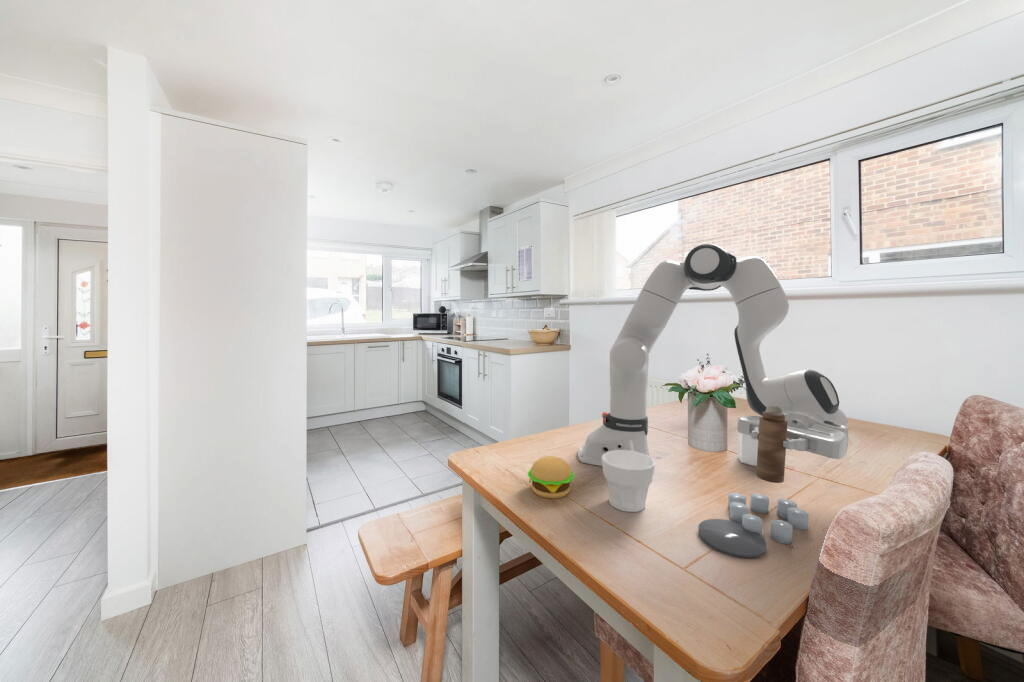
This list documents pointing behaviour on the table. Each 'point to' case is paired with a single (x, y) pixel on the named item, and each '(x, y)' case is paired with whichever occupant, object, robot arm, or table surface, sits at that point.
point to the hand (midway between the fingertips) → (770, 440)
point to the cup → (627, 478)
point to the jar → (747, 449)
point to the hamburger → (550, 477)
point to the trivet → (732, 538)
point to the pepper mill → (771, 445)
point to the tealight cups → (760, 504)
